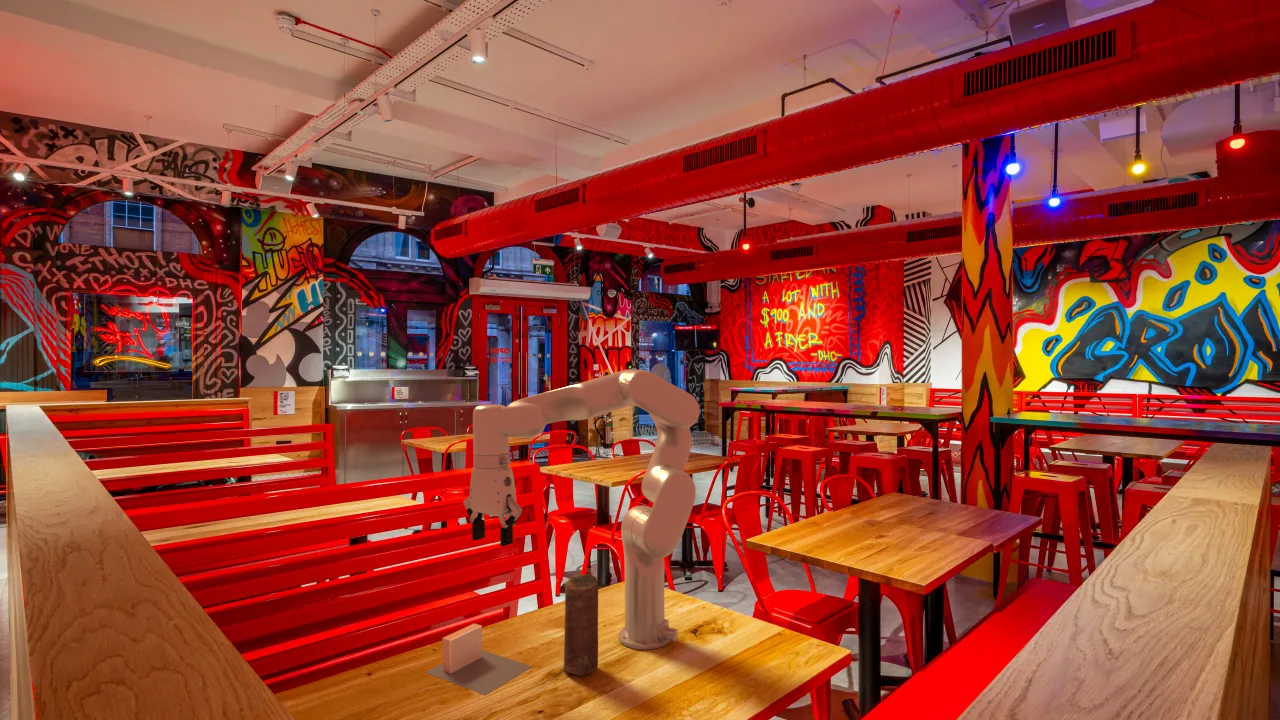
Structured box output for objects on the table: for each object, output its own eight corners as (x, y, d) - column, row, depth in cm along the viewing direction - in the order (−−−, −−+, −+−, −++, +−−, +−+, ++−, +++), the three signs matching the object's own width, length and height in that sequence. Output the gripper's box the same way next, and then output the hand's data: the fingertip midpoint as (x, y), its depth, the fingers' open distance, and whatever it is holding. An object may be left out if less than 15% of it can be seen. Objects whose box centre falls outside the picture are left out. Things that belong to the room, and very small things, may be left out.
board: (532, 671, 144) (532, 666, 144) (485, 700, 133) (485, 695, 133) (474, 651, 154) (473, 647, 154) (424, 676, 142) (424, 672, 142)
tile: (482, 656, 149) (481, 625, 149) (450, 673, 142) (450, 640, 142) (474, 654, 151) (473, 623, 150) (442, 670, 143) (442, 638, 143)
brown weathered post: (605, 669, 145) (604, 577, 145) (584, 683, 139) (583, 587, 139) (578, 660, 149) (577, 571, 149) (556, 673, 143) (555, 580, 143)
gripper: (533, 462, 144) (534, 543, 144) (475, 456, 153) (477, 532, 153) (508, 467, 137) (509, 552, 138) (450, 460, 147) (451, 540, 147)
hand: (492, 541), depth 146 cm, fingers open, 7 cm apart
